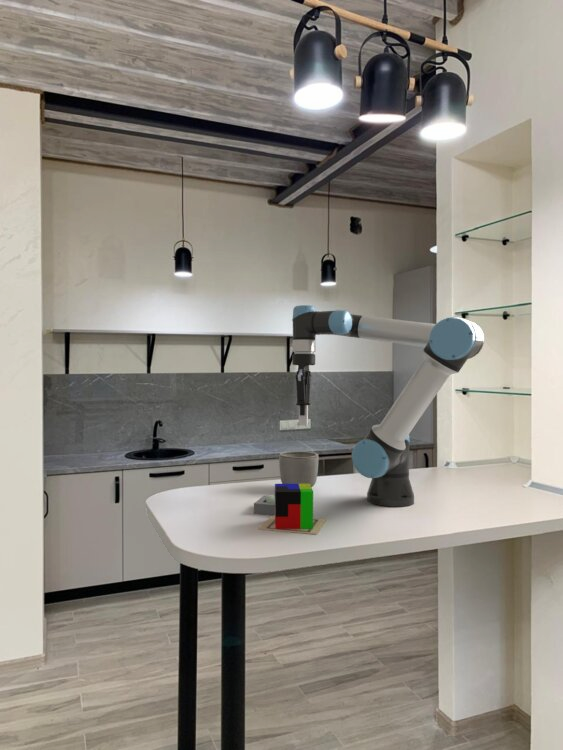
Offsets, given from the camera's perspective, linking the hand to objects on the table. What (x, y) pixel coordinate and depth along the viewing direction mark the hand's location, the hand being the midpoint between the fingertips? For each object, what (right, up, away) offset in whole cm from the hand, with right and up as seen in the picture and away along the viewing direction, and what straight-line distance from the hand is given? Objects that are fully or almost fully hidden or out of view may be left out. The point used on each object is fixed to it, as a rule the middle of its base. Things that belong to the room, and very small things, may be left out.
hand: (303, 425), depth 180 cm
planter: (-1, -24, +12) cm, 27 cm away
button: (-9, -24, -14) cm, 29 cm away
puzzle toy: (-4, -25, -28) cm, 38 cm away
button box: (-9, -25, -14) cm, 30 cm away
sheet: (-4, -25, -29) cm, 38 cm away
